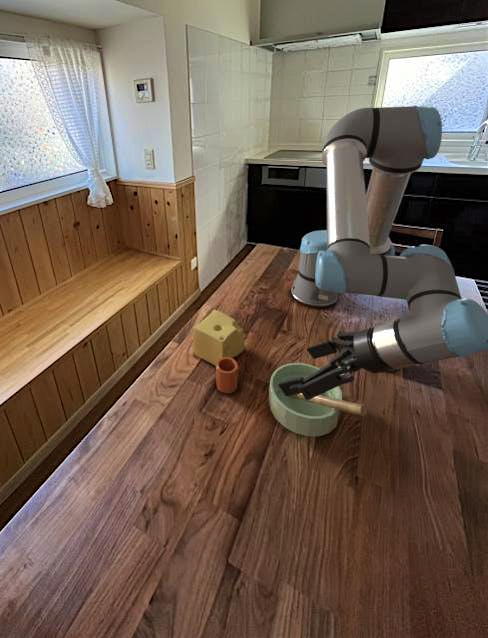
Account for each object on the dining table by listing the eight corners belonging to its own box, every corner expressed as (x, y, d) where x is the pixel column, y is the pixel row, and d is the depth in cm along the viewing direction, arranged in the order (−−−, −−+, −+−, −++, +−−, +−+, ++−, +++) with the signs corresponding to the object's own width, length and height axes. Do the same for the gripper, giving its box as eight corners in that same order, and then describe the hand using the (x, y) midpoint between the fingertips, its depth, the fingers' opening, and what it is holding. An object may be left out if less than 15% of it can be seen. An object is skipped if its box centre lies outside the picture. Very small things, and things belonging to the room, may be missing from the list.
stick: (291, 387, 80) (365, 404, 65) (292, 395, 80) (367, 415, 65) (286, 388, 79) (360, 406, 64) (286, 397, 79) (361, 417, 64)
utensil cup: (227, 374, 87) (227, 353, 84) (241, 388, 83) (242, 366, 80) (212, 384, 84) (211, 363, 82) (225, 398, 80) (225, 376, 78)
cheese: (244, 350, 95) (245, 321, 91) (222, 373, 87) (222, 343, 83) (215, 335, 101) (214, 308, 97) (192, 355, 94) (190, 327, 90)
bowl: (297, 371, 87) (299, 353, 84) (352, 413, 75) (356, 393, 73) (255, 401, 79) (256, 382, 77) (309, 452, 68) (312, 432, 65)
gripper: (378, 414, 50) (280, 424, 66) (415, 329, 67) (329, 353, 82) (346, 370, 51) (257, 390, 67) (390, 298, 68) (311, 327, 83)
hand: (297, 370), depth 75 cm, fingers open, 13 cm apart
